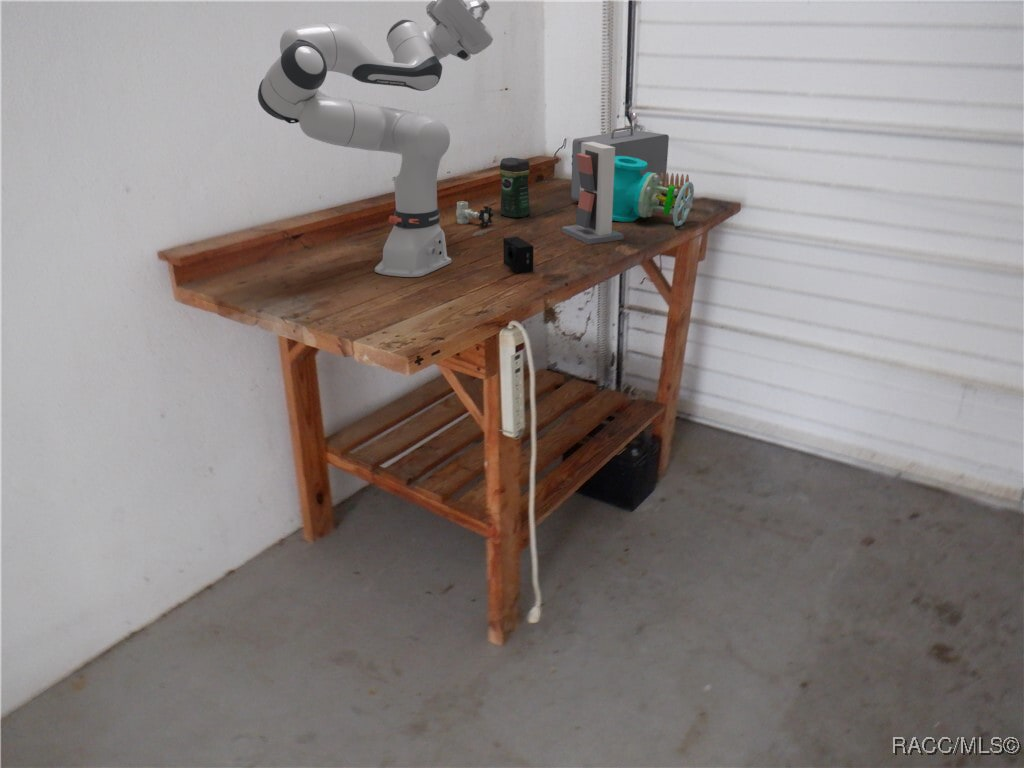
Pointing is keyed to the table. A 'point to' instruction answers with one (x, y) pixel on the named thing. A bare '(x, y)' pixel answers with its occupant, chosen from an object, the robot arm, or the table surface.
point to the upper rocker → (585, 172)
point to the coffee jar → (514, 187)
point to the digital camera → (518, 254)
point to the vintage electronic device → (626, 151)
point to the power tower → (598, 197)
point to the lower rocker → (584, 209)
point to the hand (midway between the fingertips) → (486, 2)
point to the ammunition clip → (677, 186)
